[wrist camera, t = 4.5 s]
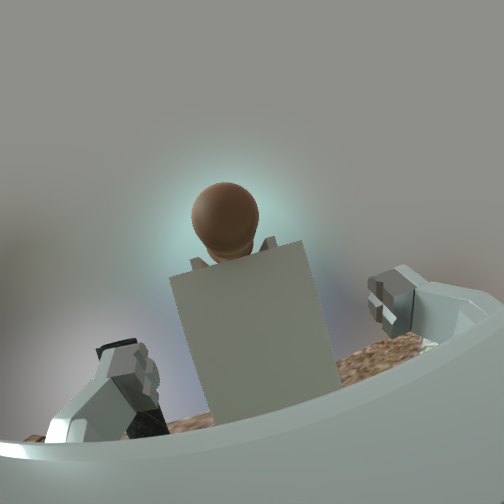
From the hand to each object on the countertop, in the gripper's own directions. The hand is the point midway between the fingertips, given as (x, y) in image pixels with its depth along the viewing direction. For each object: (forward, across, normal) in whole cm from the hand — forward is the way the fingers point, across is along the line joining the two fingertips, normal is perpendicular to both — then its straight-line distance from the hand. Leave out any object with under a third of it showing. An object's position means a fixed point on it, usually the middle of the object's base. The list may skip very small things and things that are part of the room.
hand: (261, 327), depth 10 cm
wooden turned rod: (+18, 0, +6) cm, 19 cm away
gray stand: (+10, 0, +31) cm, 33 cm away
